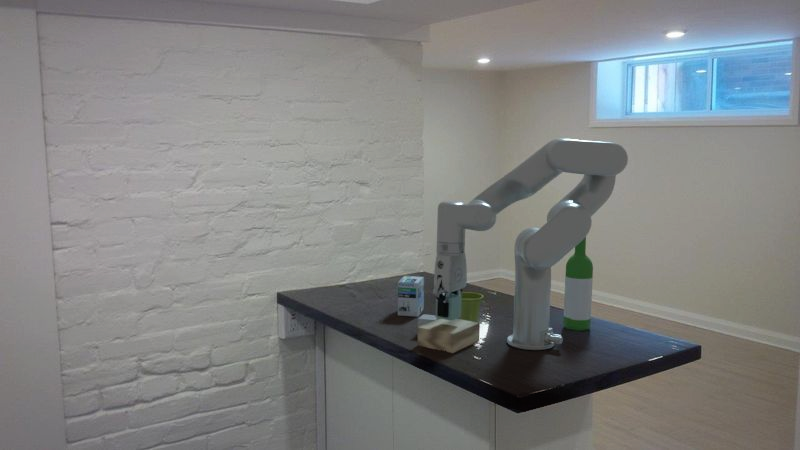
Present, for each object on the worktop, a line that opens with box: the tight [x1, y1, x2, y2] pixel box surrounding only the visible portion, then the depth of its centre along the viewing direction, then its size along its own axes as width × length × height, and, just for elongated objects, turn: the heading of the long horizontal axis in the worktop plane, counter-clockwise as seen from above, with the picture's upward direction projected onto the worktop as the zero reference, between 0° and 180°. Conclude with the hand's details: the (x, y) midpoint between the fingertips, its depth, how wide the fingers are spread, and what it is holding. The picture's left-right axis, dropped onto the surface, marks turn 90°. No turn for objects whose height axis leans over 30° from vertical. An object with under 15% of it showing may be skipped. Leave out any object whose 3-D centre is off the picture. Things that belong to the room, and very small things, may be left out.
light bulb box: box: [397, 275, 425, 318], centre depth 223 cm, size 11×7×11 cm, turn 168°
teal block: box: [435, 293, 462, 321], centre depth 190 cm, size 5×5×6 cm
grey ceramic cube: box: [417, 313, 440, 328], centre depth 200 cm, size 5×5×5 cm
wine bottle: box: [562, 236, 594, 332], centre depth 206 cm, size 8×8×30 cm
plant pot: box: [457, 291, 484, 323], centre depth 211 cm, size 9×9×9 cm
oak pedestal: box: [417, 318, 481, 354], centre depth 191 cm, size 11×14×5 cm
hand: (448, 313), depth 191 cm, fingers closed on teal block, 5 cm apart
